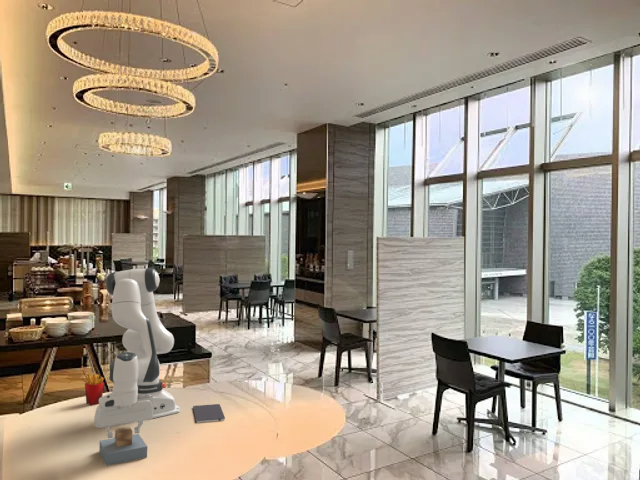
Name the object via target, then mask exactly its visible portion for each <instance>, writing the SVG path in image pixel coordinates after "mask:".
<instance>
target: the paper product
mask: <svg viewBox="0 0 640 480" xmlns="http://www.w3.org/2000/svg"><path fill="white" fill-rule="evenodd" d="M192 409H193V410H192V411H193V414H194V419H195V423H196V424H200V423H213V422H224V421H225V419H226V417H225V415H224V412H223V410H222V406H221V404H220V403H215V404H204V405H203V404H202V405H193V406H192Z"/></svg>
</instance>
